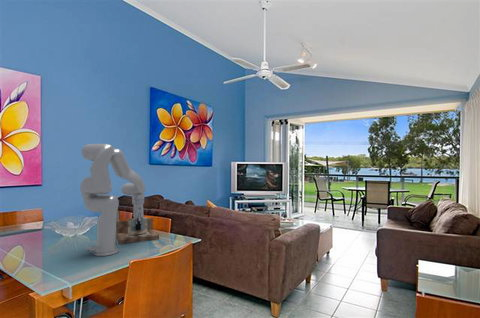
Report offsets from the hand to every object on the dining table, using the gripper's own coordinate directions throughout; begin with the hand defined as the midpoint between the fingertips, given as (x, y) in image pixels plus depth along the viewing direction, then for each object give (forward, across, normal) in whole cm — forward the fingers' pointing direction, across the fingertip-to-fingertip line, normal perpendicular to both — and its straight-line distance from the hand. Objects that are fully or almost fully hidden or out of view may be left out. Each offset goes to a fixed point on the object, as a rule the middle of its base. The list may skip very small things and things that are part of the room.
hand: (137, 229), depth 177 cm
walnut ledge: (+6, +2, 0) cm, 7 cm away
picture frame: (+3, 0, 0) cm, 3 cm away
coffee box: (+6, +22, +14) cm, 27 cm away
